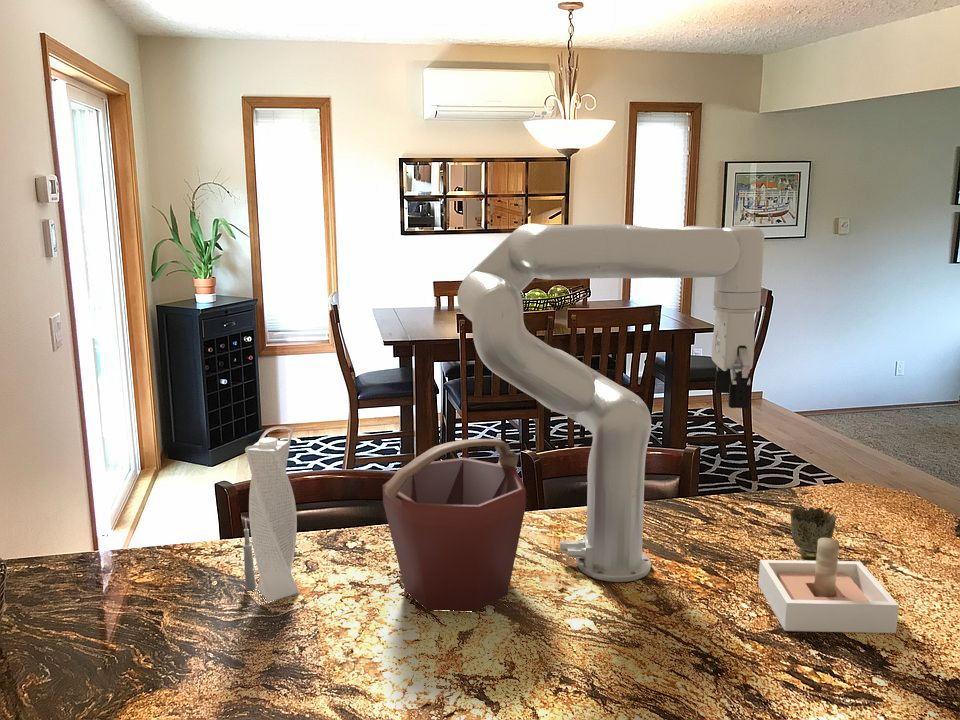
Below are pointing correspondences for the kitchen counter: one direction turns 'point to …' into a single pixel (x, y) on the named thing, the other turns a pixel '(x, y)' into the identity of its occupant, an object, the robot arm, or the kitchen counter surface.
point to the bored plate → (803, 587)
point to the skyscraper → (270, 520)
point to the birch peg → (826, 567)
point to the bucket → (456, 525)
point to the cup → (811, 529)
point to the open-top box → (829, 601)
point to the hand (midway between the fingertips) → (731, 399)
